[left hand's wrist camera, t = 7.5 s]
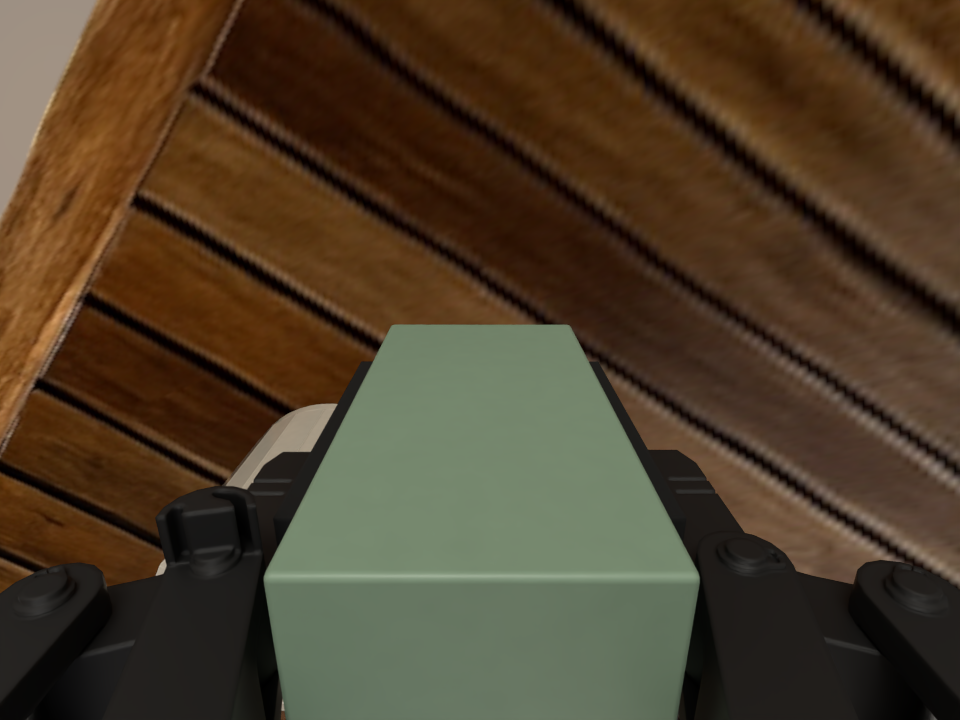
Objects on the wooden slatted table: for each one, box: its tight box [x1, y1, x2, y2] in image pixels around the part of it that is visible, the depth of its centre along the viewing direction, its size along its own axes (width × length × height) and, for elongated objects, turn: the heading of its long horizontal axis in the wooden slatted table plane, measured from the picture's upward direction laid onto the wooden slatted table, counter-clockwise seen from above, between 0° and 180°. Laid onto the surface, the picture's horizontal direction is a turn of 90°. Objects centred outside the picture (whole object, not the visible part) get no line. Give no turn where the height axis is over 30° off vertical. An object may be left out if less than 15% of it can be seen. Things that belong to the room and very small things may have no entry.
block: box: [264, 325, 700, 720], centre depth 11 cm, size 4×4×9 cm
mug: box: [156, 404, 337, 711], centre depth 30 cm, size 16×10×11 cm, turn 28°
